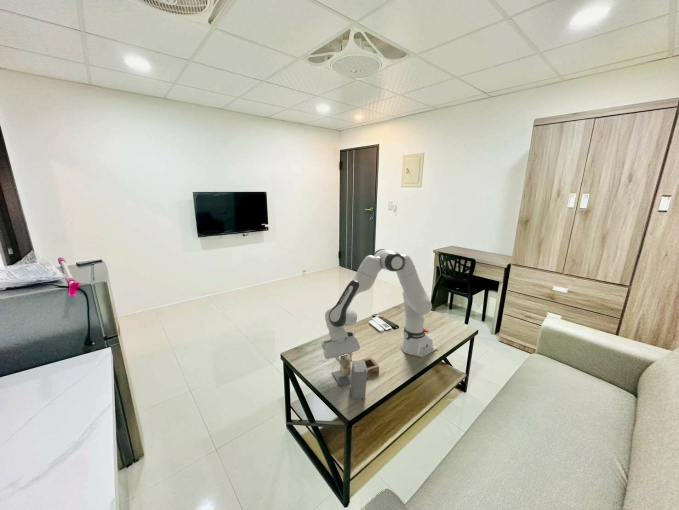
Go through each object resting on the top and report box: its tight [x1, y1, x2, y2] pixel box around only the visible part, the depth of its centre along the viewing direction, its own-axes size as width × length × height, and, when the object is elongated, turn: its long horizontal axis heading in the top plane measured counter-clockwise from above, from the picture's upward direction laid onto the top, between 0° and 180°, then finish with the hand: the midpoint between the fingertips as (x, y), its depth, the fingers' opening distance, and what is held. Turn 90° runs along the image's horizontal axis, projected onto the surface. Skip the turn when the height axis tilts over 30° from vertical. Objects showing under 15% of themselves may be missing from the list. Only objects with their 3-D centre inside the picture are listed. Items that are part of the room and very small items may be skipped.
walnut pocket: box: [358, 356, 380, 377], centre depth 150 cm, size 9×9×4 cm
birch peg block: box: [339, 354, 352, 377], centre depth 144 cm, size 4×4×10 cm
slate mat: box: [331, 367, 352, 387], centre depth 145 cm, size 11×11×1 cm
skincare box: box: [350, 360, 368, 400], centre depth 132 cm, size 8×7×16 cm
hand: (346, 363), depth 142 cm, fingers closed on birch peg block, 4 cm apart
